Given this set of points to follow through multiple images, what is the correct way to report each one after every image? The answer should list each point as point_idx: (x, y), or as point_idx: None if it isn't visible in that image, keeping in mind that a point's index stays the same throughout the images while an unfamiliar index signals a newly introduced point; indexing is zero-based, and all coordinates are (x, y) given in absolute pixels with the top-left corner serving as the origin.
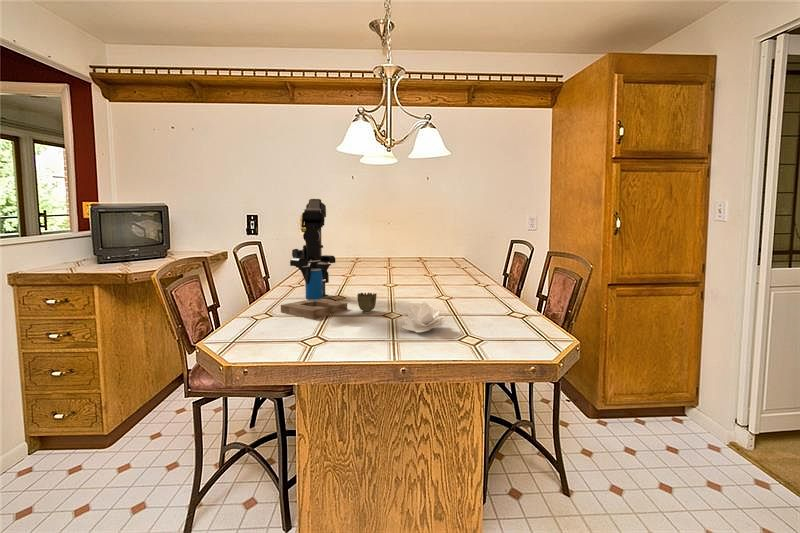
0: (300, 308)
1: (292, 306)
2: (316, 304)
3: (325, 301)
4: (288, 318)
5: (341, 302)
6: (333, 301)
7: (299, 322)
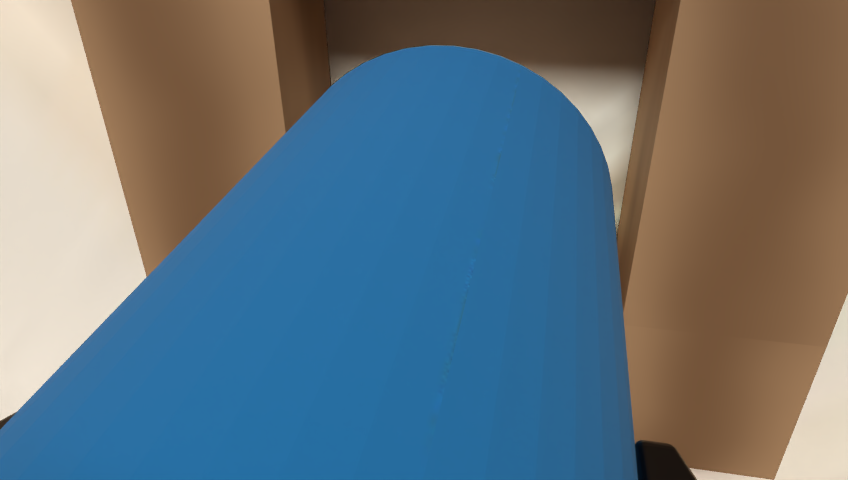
0: (129, 213)
1: (101, 17)
2: (668, 9)
3: (759, 164)
4: (70, 68)
5: (786, 406)
6: (823, 272)
7: (87, 283)
